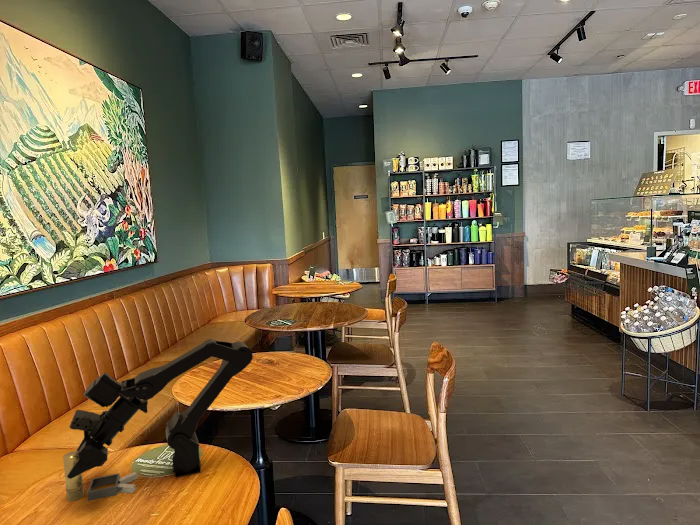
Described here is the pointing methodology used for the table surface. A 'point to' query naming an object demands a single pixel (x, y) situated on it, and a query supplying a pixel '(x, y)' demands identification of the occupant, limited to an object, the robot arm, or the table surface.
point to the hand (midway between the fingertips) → (71, 468)
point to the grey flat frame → (111, 491)
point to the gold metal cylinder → (75, 484)
